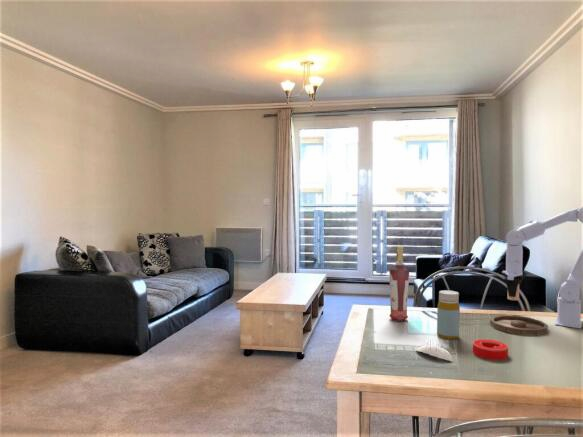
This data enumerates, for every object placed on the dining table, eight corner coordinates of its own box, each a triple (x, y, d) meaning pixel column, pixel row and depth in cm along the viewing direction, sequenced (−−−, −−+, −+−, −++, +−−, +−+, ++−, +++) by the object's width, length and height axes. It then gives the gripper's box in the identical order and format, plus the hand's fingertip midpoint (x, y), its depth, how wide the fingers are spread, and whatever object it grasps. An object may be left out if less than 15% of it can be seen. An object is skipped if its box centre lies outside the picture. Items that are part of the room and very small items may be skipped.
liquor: (410, 322, 165) (412, 247, 163) (390, 322, 165) (392, 247, 163) (405, 317, 172) (407, 245, 171) (386, 317, 172) (388, 245, 171)
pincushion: (410, 353, 134) (410, 335, 133) (422, 349, 137) (422, 331, 137) (446, 365, 124) (447, 345, 124) (458, 360, 128) (458, 341, 128)
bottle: (436, 338, 147) (437, 293, 146) (437, 332, 154) (438, 289, 153) (458, 340, 144) (459, 295, 144) (459, 334, 151) (460, 291, 150)
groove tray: (496, 317, 172) (496, 312, 172) (549, 325, 162) (549, 320, 162) (485, 328, 157) (486, 323, 157) (543, 338, 147) (544, 333, 147)
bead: (508, 297, 176) (508, 282, 175) (519, 298, 173) (520, 283, 173) (506, 299, 172) (506, 284, 172) (517, 300, 170) (518, 285, 170)
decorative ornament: (478, 346, 140) (478, 336, 140) (511, 353, 134) (511, 343, 133) (468, 355, 132) (468, 344, 132) (502, 363, 126) (503, 352, 126)
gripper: (506, 257, 180) (505, 290, 181) (499, 262, 168) (498, 297, 169) (525, 259, 176) (524, 293, 177) (519, 263, 164) (518, 300, 165)
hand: (513, 295), depth 173 cm, fingers closed on bead, 4 cm apart
